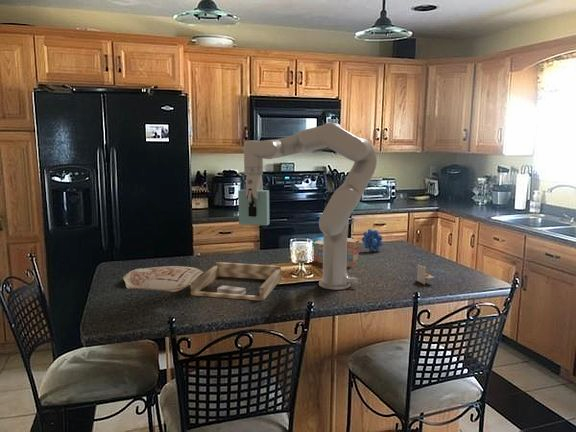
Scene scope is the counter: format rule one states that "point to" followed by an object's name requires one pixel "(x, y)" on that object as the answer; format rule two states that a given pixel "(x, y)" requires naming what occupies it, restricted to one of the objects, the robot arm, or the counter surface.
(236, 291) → the offcut upper
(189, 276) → the poster
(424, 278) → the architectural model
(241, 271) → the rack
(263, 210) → the teal rectangular block
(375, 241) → the blue gear
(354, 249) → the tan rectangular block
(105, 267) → the counter surface
